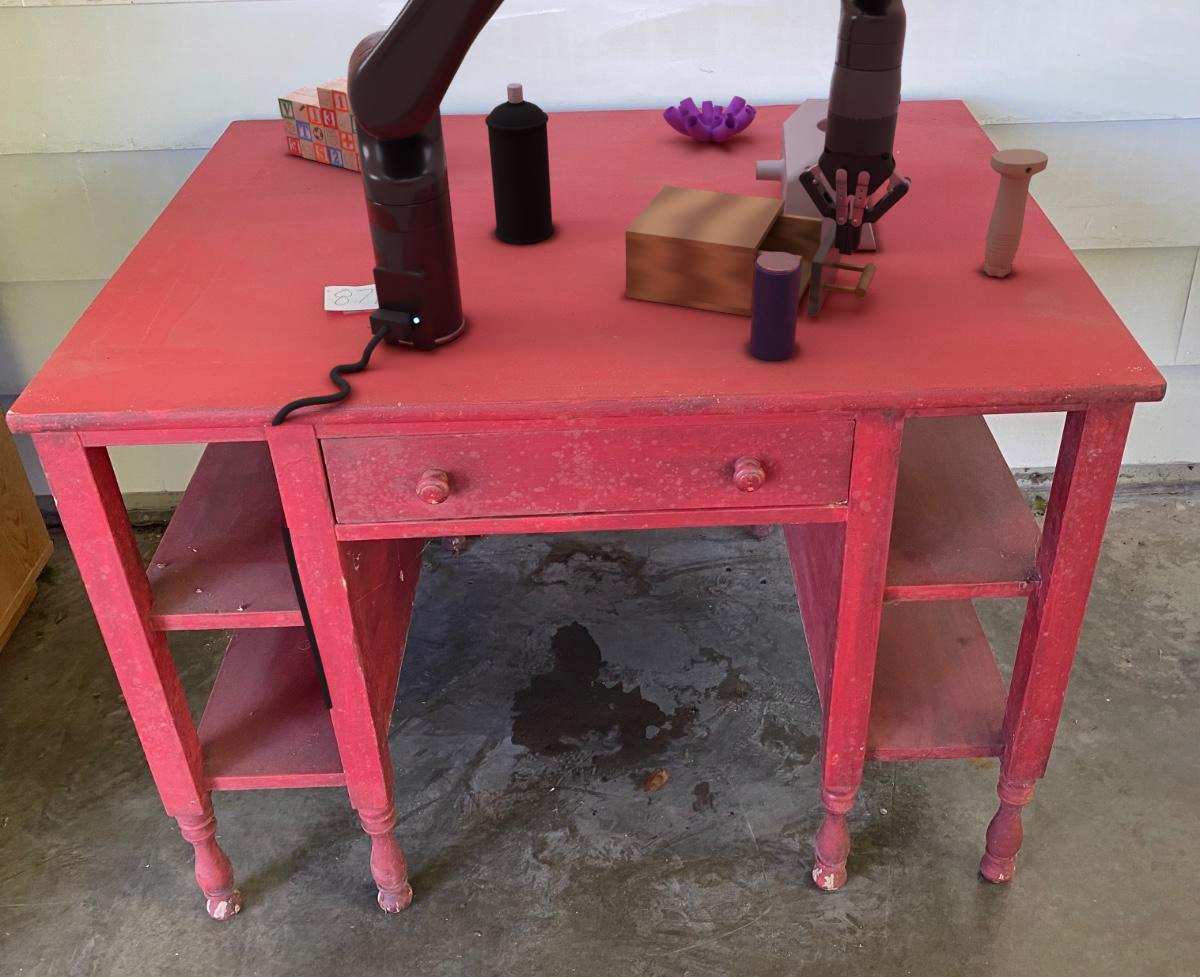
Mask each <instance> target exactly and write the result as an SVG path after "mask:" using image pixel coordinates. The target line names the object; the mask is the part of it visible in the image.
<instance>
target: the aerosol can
mask: <svg viewBox="0 0 1200 977" xmlns="http://www.w3.org/2000/svg"><path fill="white" fill-rule="evenodd" d="M506 92H507V94H506V95H507V100H506V101H505V102H502V103H500V104H498V105H496V106H495V107H494V108H493V109H492V110H491V111H490V112H489V114H488V115H486V117H485V120H484V122H485V125H486V126H487V132H488V144H489V146H488V147H489V158H490V167H491V168H490V169H491V179H492V190H493V202H494V213H495V226H496V228H495V230H494V234H495V237H496V238H497V239H498V240H500V241H501V242H504V243H506V244H510V245H521V246H522V245H532V244H537V243H541V242H544V241H546V240H548V239H549V238H551V237H553V235H554V234H555V226H554V225H553V212H552V211H553V210H552V196H551V195H552V194H551V175H550V156H549V142H548V141H549V140H548V139H549V138H548V122H549V115H548V114H547V113H546V112H544V111H543V109H542V108H541V107H539V106H538V105H537V104H535V103H533V102H530V101H528V100H524V93H523V92H524V90H523V85H522V84H521V83H517V82H516V83H515V82H514V83H509V84H507V85H506Z"/></svg>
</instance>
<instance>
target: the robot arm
mask: <svg viewBox="0 0 1200 977" xmlns="http://www.w3.org/2000/svg"><path fill="white" fill-rule="evenodd" d="M505 1H506V0H407V1H406V2H405V4H404V5H403V7H402V9H401V10H400V12H399V13H398V14H397V15H396V17H395V18H394V20H393V21H392V23H391V24H390V25H389V27H388V28H387V29H383V30H378V31H375V32H372V33H370V34H368V35H367V36H365V37H364V38H363V39H361V41H360V42H359V43H358V44H357V45H356V46H355V48H353V51H352V52H351V55H350V58H349V61H348V65H347V72H346V73H347V76H346V77H347V95H348V101H349V105H350V108H351V110H352V113H353V115H354V120H355V126H356V133H357V139H358V148H359V157H360V166H361V172H360V174H361V181H362V187H363V193H364V199H365V204H366V206H365V207H366V211H367V217H368V218H367V219H368V225H369V232H370V237H371V244H372V250H373V256H374V262H375V263H374V264H375V266H374V267H373V268H372V274H373V281H374V287H375V293H376V300H377V306H378V308H377V309H375V311H373V312H372V313H371V314H370V315H369V316H368V317H369V319H368V320H369V325H370V331H371V335H372V338H371V339H370V341H369V342H368V343H367V345H366V346H365V348H364V350H363V353H362V357H361V359H360V360H359V361H357V362H355V363H346V364H338V365H335V366H334V367H333V368H332V369H331V370H330V371H329V377H330V379H331V381H332V382H333V383H334V384H336V385H337V386H339V387H340V388H341V390H340V391H339V392H337V393H333V394H328V395H327V394H326V395H319V396H318V395H317V396H310V397H304V398H300V399H295V400H293V401H290V402H289V403H287V404H286V405H284V406H283V407H282V408H281V409H279V411H277V413H276V414H275V416H274V418H273V420H272V421H271V426H272V427H277V426H280V425H281V424H282V423H283V421H284V420H285V419H286V418H287V416H288V415H289V414H290V413H292V412H294V411H297V410H299V409H302V408H305V407H311V406H322V405H329V404H335V403H338V402H339V403H340V402H341V401H343V400H345V399H347V397H349V395H350V394H351V392H352V386H351V385H350V384H349V383H348V381H347V380H346V379H344V378H343V377H342V376H340V374H344V373H355V372H359V371H360V370H363V369H364V368H366V367H367V366H368V364H369V362H370V360H371V356H372V353H373V352H374V350H375V349H376V347H377V346H378V345H379V343H380V342H381V341H382V340H383V342H384V343H386V344H387V343H388V344H391V345H392V344H393V345H397V346H402V347H409V348H415V349H420V350H424V351H425V350H426V351H431V350H432V349H434V347H437V346H439V345H443V344H446V343H447V342H451V341H453V340H455V339H456V338H457V337H459V336H460V335H461V334H462V333H463V331H464V330H465V327H466V321H465V315H464V311H463V310H464V309H463V302H462V301H463V300H462V294H461V285H460V274H459V267H458V257H457V256H458V255H457V248H456V240H455V230H454V223H453V221H454V220H453V214H452V212H453V211H452V203H451V194H450V183H449V173H448V164H447V163H448V162H447V157H446V156H447V155H446V154H447V153H446V148H445V140H444V133H443V123H442V116H441V115H442V114H441V104H442V103H443V100H444V97H445V95H446V94H447V92H448V90H449V88H450V85H451V84H452V83H453V80H454V79H455V77H456V75H457V73H458V72H459V69H460V67H461V65H462V64H463V62H464V60H465V58H466V56H467V54H468V52H469V51H470V49H471V47H472V46H473V44H474V42H475V41H476V39H477V38H478V36H479V35H480V33H481V32H482V31H483V29H484V28H485V27H486V25H487V24H488V23H489V22H490V20H491V19H492V18H493V16H495V14H496V12H497V11H498V10H499V9H500V7H501V6H502V5H503V3H504V2H505ZM839 4H840V7H839V8H840V9H839V22H838V26H837V32H836V33H837V34H836V43H835V44H836V45H835V55H834V62H833V63H834V64H833V70H832V74H831V78H830V84H829V93H828V99H829V102H828V112H827V123H826V134H825V144H824V150H823V153H822V154H821V156H820V157H819V160H818V163H816V164H814V165H813V166H811V167H810V166H807V167H805V168H804V170H803V171H802V173H801V174H800V176H799V181H800V183H801V184H802V186H803V187H804V189H805V190H806V192H807V193H808V195H809V196H810V198H811V199H812V201H813V202H814V204H815V205H816V207H817V208H818V210H819V211H820V213H821V214H822V216H823V217H825V218H828V217H829V218H831V219H833V220H834V221H835V222H836V232H835V242H834V245H835V248H836V249H839V254H841V255H846V256H852V255H853V252H857V250H859V249H858V247H859V245H860V243H861V234H862V226H863V224H865V223H871V225H873V224H875V223H877V222H878V221H879V220H880V219H881V218H882V217H883V216H885V214H886V213H888V211H889V210H891V209H892V208H893V207H894V206H895V205H896V204H897V203H898V202H899V201H900V200H901V199H902V198H904V196H905V195H907V194H908V192H909V190H910V188H911V185H912V179H911V178H910V177H909V176H903V175H902V174H901V173H900V172H899V171H898V170H897V169H896V166H897V163H896V160H895V157H894V144H895V136H896V131H897V130H896V129H897V122H898V114H899V106H900V104H901V101H902V100H901V99H902V94H901V90H902V67H903V63H902V62H903V58H904V50H905V49H904V48H905V42H906V33H907V13H906V9H905V6H904V2H903V0H839ZM822 173H823V174H824V176H825V178H826V179H827V181H828V183H829V184H830V186H831V188H832V189H833V190H834V191H835V192H836V203H835V202H834V200H833V198H832V197H831V195H830V194H829V192H828V191H827V189H826V188H825V186H824V185H823V183H822V182H821V181H822V179H823V175H822ZM887 180H888V181H889V182H888V183H887V186H886V193H885V194H884V195H883V196H881V198H880V199H879V200H878V201H877V202H875V204H873V206H870V207H868V202H869V199H870V197H871V196H872V195H874V194H875V193H876V192H877V191H878V189H880V188H881V187H882V186H883V184H884V183H886V181H887ZM852 195H853V196H855V199H854V204H853V212H852V217H851V219H849V216H850V213H851V197H852ZM866 207H867V209H866ZM373 335H374V336H373ZM280 530H281V531H280V532H281V537H282V541H283V545H284V550H285V556H286V560H287V563H288V567H289V572H290V576H291V580H292V584H293V588H294V592H295V595H296V600H297V603H298V607H299V610H300V614H301V617H302V618H301V619H302V620H303V625H304V628H305V632H306V636H307V640H308V643H309V647H310V650H311V654H312V657H313V658H312V659H313V661H314V665H315V669H316V672H317V676H318V681H319V685H320V688H321V693H322V697H323V700H324V701H323V702H324V706H325V709H326V710H328V711H329V710H332V709H333V707H334V705H333V702H332V697H331V692H330V688H329V684H328V680H327V676H326V672H325V668H324V664H323V660H322V657H321V652H320V649H319V644H318V641H317V637H316V634H315V630H314V627H313V623H312V619H311V614H310V611H309V608H308V604H307V600H306V597H305V593H304V589H303V585H302V581H301V576H300V573H299V568H298V565H297V562H296V561H297V560H296V556H295V551H294V547H293V541H292V538H291V533H290V532H291V530H290V527H287V526H283V525H280Z"/></svg>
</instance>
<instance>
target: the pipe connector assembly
mask: <svg viewBox="0 0 1200 977" xmlns="http://www.w3.org/2000/svg"><path fill="white" fill-rule="evenodd" d="M746 103H747V100H746V99H745V98H743V97H741V96H738V95H734V96H733V97H732V99H731V100H730V102H729V104H728V105H727V107H726V108H725V110H724V108H723V105H717V104H716V105H715V104H713V101H712V100H703V101H702V102H701V111H700V110H699V109H698V107H697V106H696V103H695V102H694V100H693V98H692V97H691V96H689V97H686V98H684V99H681V101H679V105H678V106H677V107H675V106H674V105H671V106H668V108H666V109H665V110H664V112H663V113H662V117H663V119H664V120H665V122H666V123H667V124H668V126H670V127H671V128H672V129H673V130H675V131H676V132H678V133H680V134H682V135H684V136H687V137H691V138H693V139H694V140H695V141H699V142H706V143H707V142H709V143H711V142H713V143H724V142H728V141H729V140H730V139H732V138H733V137H734V136H735V135H737V134H740V133H742V132H743V131H745V130H746V129H747V128H748V127H749V126H750V125H751V124H752V123H753V121H754V120H755V118H756V114H757V109H756V108H754V107H753V106H752V105H750V104H746Z"/></svg>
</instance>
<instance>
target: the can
mask: <svg viewBox="0 0 1200 977" xmlns="http://www.w3.org/2000/svg"><path fill="white" fill-rule="evenodd" d="M801 268H802V265H801V262H800V260H799V258H798V257H796V256H795V255H793V254H790V253H785V252H769V253H765V254H762V255H761V256H759V257H758V259H757V261H756V262H755V271H754V287H753V303H752V315H751V319H750V320H751V322H750V338H749V352H750V353H751V355H752V356H754V357H755V358H757V359H760V360H763V361H768V362H778V361H779V362H780V361H784V360H786V359H787V360H788V359H789V358H790V357H792V356H793V355H794V352H795V346H796V345H795V344H796V335H797V325H798V324H797V322H798V311H799V304H798V301H799V290H800V279H801Z"/></svg>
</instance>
